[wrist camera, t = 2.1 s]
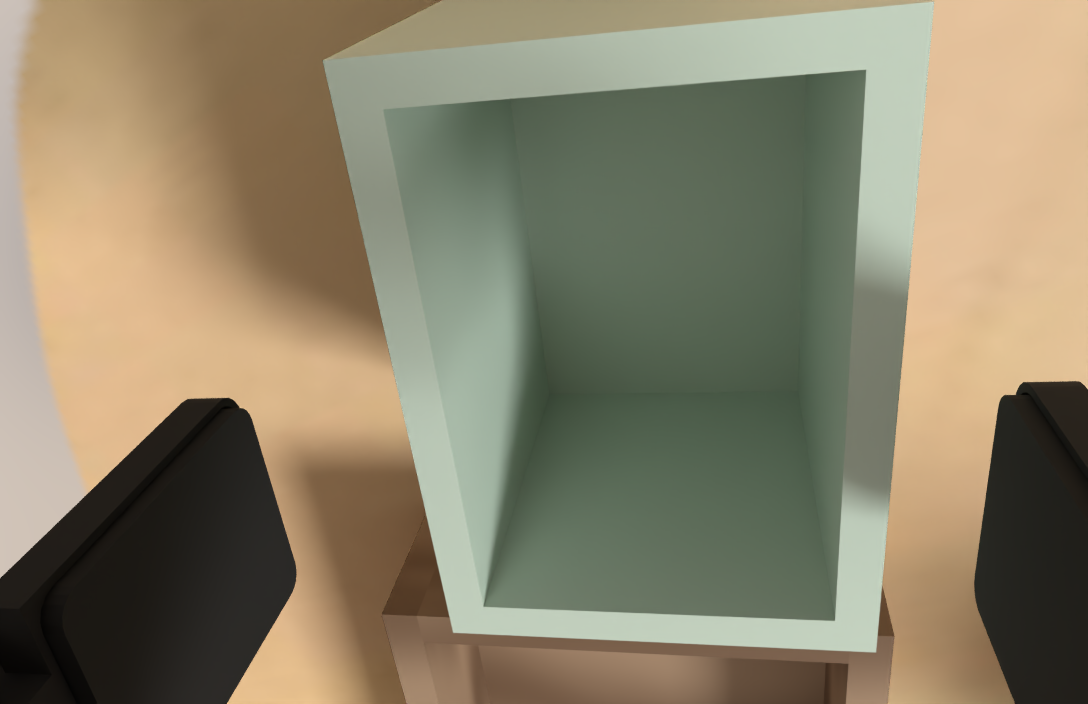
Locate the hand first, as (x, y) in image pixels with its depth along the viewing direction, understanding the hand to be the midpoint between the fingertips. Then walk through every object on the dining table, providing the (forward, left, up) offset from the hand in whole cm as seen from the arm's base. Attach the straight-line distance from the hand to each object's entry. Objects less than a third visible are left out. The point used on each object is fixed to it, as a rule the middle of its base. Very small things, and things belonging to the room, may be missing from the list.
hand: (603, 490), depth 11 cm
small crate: (-1, 0, -8) cm, 8 cm away
